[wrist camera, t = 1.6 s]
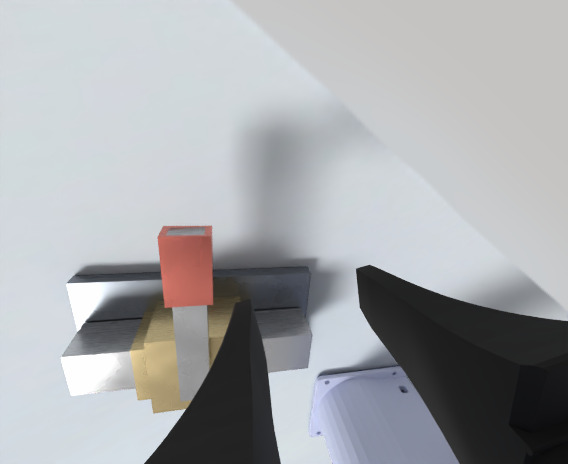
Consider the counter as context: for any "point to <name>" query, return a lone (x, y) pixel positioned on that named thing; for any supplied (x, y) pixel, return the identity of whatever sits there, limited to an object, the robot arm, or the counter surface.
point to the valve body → (160, 329)
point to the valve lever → (188, 299)
